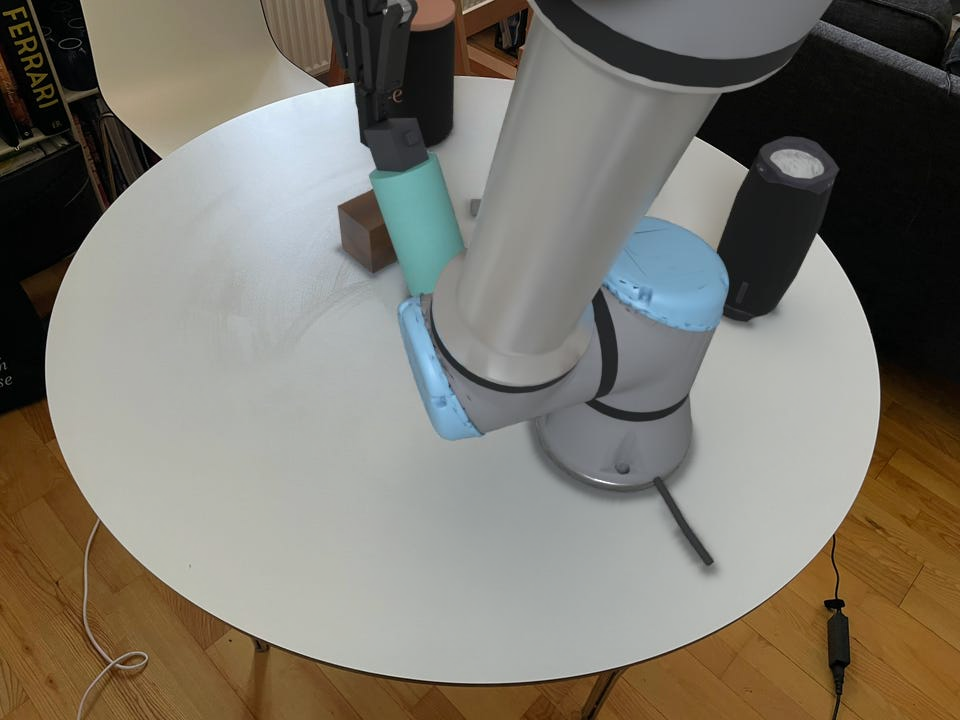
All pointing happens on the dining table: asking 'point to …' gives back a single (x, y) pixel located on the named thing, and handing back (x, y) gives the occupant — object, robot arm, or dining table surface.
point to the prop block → (366, 232)
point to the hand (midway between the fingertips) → (374, 140)
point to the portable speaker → (774, 224)
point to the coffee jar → (428, 72)
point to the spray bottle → (413, 202)
